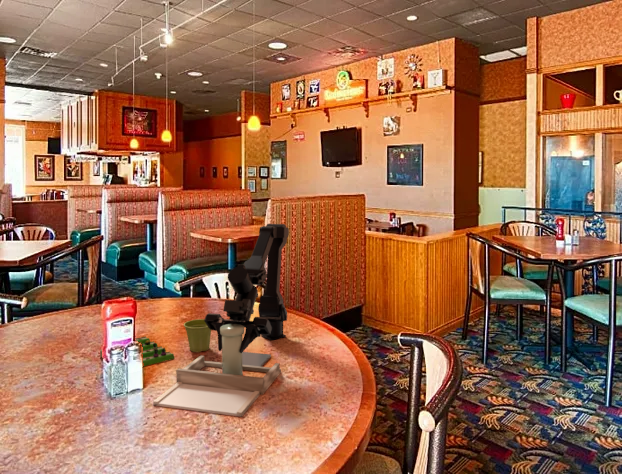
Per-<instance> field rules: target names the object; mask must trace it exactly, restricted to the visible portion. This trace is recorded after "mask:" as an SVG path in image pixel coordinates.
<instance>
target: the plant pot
mask: <svg viewBox="0 0 622 474" xmlns="http://www.w3.org/2000/svg"><path fill="white" fill-rule="evenodd" d="M204 319H205V318H203V319H202V318H201V319H199V318H198V319H191V320H188V321H185V322H184V323H183V327H184V328H185V331H186V336H187V341H188V347H189V350H190V351H191V352H193V353H200V352H202V351H203V352H207V351H208V350H209V349H210V346H211V345H210V343H211V336H212V330H210V329H209V327H208V326H207V324H206V323H205V321H204Z"/></svg>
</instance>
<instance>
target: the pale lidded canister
mask: <svg viewBox="0 0 622 474" xmlns="http://www.w3.org/2000/svg"><path fill="white" fill-rule="evenodd" d="M220 334H221V335H222V350H221V352H222V353H221V363H222V367H221V371H222V372H221V373H225V374H234V375H243V371H244V370H243V363H242V353H240V347H241V343H242V341H243V335H245V327H244V326H243V325H240V324H227V325H223V326H221V327H220ZM243 376H244V375H243Z"/></svg>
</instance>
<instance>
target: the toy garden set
mask: <svg viewBox="0 0 622 474" xmlns="http://www.w3.org/2000/svg"><path fill="white" fill-rule="evenodd" d="M135 339H136V341H138V342H140V343H141V344H142V347H143V353H142V354H143V363H144V366H143V367H146V366H150V365H154V364H158V363H162V362H167V361H171V360H174V359H175V355H174V353H172V352H170V351H167V350H166V348H165V346H164V347H163V346H161V345H160V346H159V345H158V343H156V342H155V341H151V340H150V338H149V337H147V336H141V337H137V338H136V335H135ZM102 349H103V348H102ZM102 349H101V348H100V350H99V358H100V359H102V358H101V357H102Z"/></svg>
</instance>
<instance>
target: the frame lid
mask: <svg viewBox="0 0 622 474" xmlns="http://www.w3.org/2000/svg"><path fill="white" fill-rule="evenodd" d="M259 396H260V394H259V391H254V392H249V391H240V390H231V389H223V388H214V387H206V386H197V385H189V384H182V382H177V381H176V383H174V384H173V385H172V386H171V387H169V388H168V389H167V390H166V391H164V392H163V393H162V394H160V395H159V396H158V397H156V399H154V400H153V402H152V404H153V406H156V407H157V406H158V407H166V408H172V409H180V410H189V411H195V412H203V413H210V414H212V413H213V414H219V415H227V416H234V417H240V418H241V417H243V415H244V414H245V413H246V412H247V411H248V410H249V408H250V407H251V406H252V404H253V403H254V402H255V401H256V400H257V399H258V397H259Z"/></svg>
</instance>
